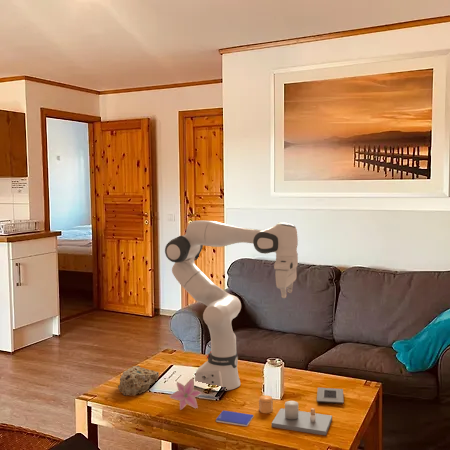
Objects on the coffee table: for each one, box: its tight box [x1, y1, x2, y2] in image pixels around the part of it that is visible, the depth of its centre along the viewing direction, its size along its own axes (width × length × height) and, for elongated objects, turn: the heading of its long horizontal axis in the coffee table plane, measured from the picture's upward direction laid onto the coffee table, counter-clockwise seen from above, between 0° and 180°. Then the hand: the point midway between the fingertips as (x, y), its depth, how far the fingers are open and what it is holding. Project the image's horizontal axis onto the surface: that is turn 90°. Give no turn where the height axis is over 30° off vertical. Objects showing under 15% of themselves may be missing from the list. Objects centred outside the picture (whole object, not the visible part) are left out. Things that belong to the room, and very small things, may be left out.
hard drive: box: [215, 410, 254, 427], centre depth 201 cm, size 2×8×12 cm
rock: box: [117, 365, 160, 396], centre depth 233 cm, size 21×14×10 cm
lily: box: [169, 377, 202, 411], centre depth 214 cm, size 12×12×10 cm
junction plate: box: [271, 400, 333, 436], centre depth 196 cm, size 20×13×7 cm, turn 69°
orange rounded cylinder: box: [258, 394, 274, 414], centre depth 207 cm, size 5×5×5 cm
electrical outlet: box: [316, 387, 344, 404], centre depth 217 cm, size 13×10×2 cm
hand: (287, 295), depth 217 cm, fingers open, 8 cm apart
